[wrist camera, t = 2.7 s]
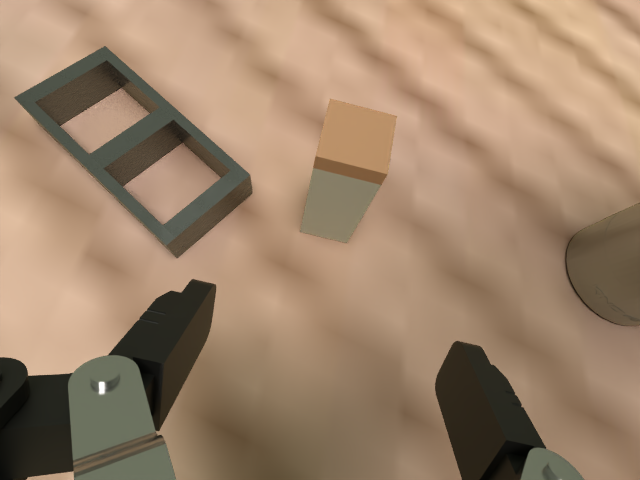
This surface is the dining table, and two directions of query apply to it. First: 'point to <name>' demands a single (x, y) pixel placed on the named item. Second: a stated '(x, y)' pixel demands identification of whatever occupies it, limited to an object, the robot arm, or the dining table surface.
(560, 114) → the dining table surface
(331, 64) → the dining table surface
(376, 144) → the two-tone square post
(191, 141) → the divided rectangular frame
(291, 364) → the dining table surface
